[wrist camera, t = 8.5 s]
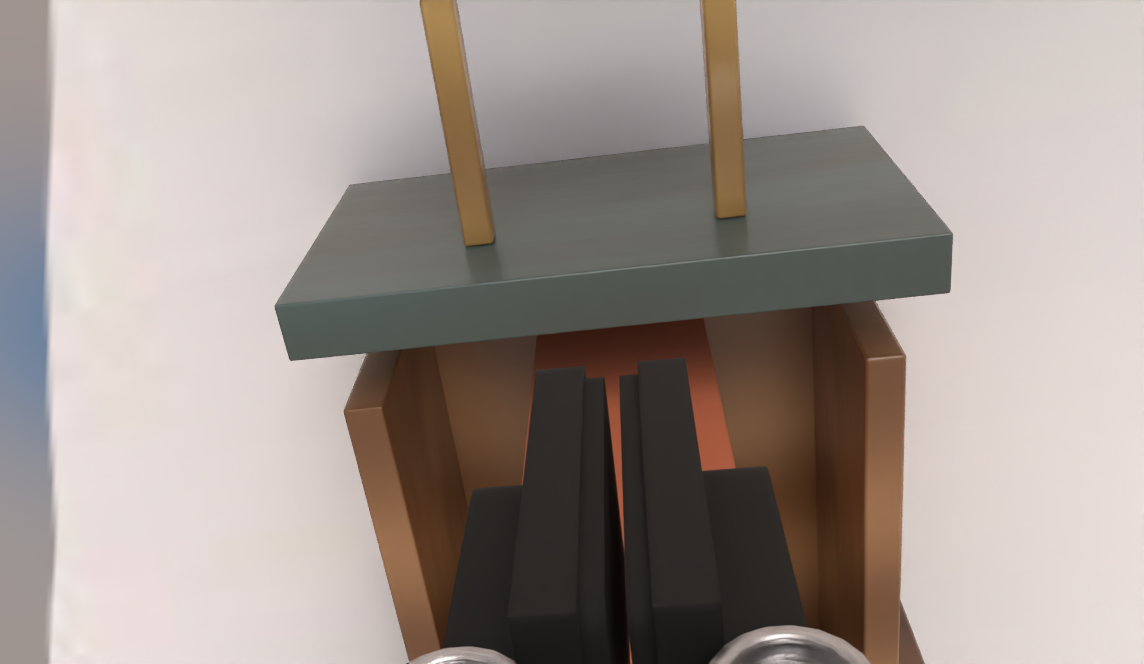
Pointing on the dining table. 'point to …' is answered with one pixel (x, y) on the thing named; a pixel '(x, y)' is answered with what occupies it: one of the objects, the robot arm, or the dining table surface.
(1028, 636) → the dining table surface
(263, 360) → the dining table surface
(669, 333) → the block
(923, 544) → the dining table surface
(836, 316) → the drawer
